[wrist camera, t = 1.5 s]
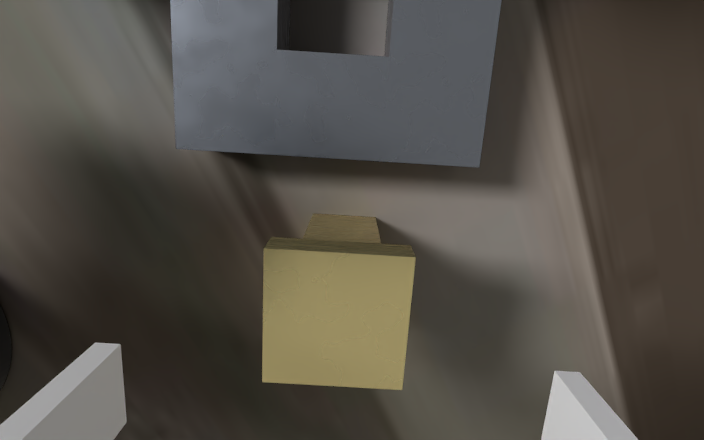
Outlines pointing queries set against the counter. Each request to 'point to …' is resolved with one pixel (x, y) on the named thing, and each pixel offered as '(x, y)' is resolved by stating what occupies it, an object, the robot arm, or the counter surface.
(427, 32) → the gray post stand
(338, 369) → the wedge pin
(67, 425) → the robot arm
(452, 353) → the counter surface
